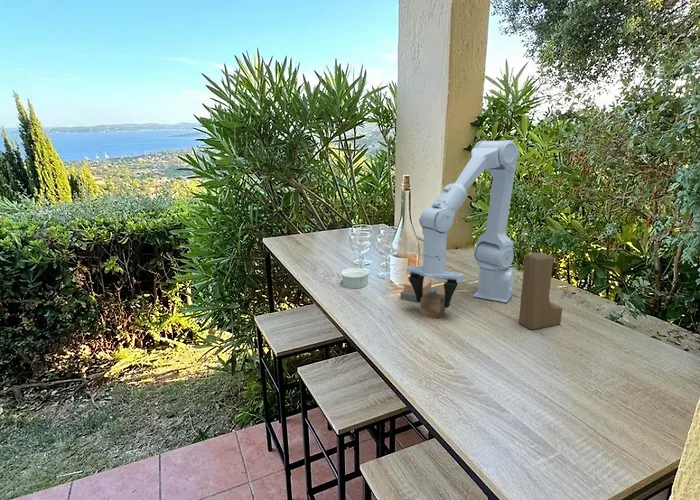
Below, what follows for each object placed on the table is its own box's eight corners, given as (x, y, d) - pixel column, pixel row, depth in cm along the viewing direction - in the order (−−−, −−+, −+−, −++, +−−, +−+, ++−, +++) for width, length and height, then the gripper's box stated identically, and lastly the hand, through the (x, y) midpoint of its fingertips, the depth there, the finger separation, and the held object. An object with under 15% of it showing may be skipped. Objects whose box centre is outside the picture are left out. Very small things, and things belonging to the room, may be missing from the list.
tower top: (431, 288, 118) (431, 280, 117) (423, 295, 113) (423, 287, 112) (412, 285, 121) (412, 277, 120) (404, 292, 116) (404, 284, 115)
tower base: (436, 296, 118) (436, 288, 118) (426, 305, 112) (426, 297, 111) (411, 291, 123) (411, 284, 122) (400, 300, 116) (400, 292, 116)
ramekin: (358, 291, 123) (358, 278, 122) (336, 286, 128) (335, 273, 127) (374, 283, 130) (374, 270, 128) (352, 278, 135) (352, 266, 134)
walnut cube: (445, 312, 106) (445, 295, 105) (438, 319, 102) (439, 301, 101) (427, 308, 109) (428, 291, 108) (420, 315, 105) (420, 297, 104)
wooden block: (547, 317, 102) (554, 249, 97) (561, 324, 97) (569, 254, 93) (517, 322, 99) (524, 253, 94) (530, 330, 95) (538, 258, 90)
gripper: (402, 254, 102) (401, 303, 105) (457, 262, 94) (454, 314, 98) (413, 248, 108) (412, 294, 111) (466, 255, 100) (463, 304, 104)
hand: (433, 303), depth 105 cm, fingers open, 7 cm apart
